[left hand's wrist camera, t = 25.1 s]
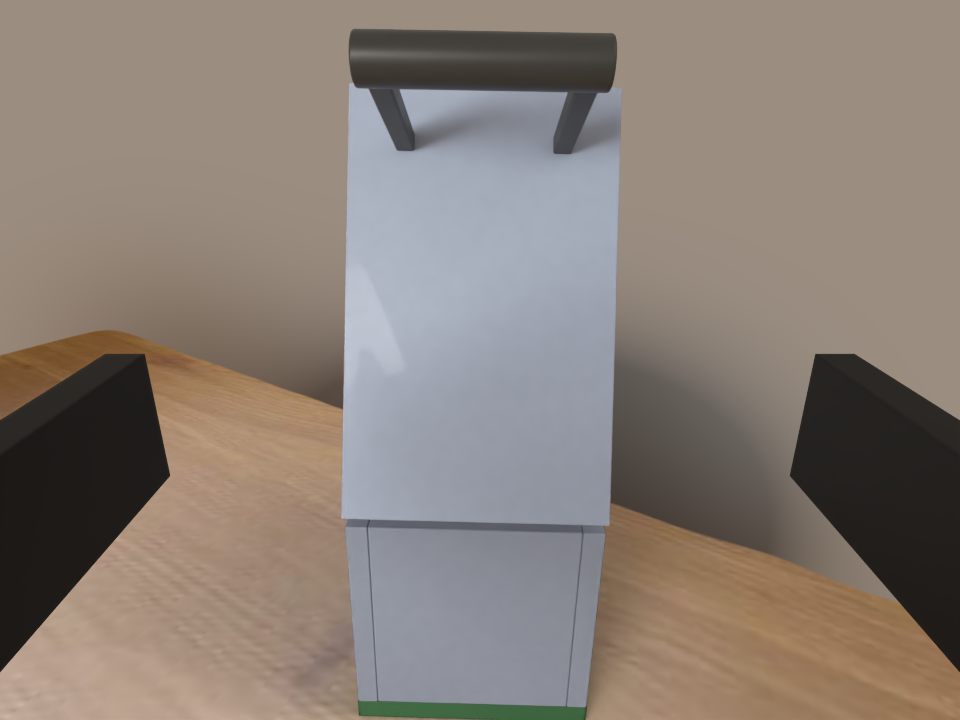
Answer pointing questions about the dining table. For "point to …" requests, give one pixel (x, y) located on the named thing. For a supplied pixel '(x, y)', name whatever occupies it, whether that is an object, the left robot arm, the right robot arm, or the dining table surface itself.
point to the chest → (473, 618)
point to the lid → (480, 276)
